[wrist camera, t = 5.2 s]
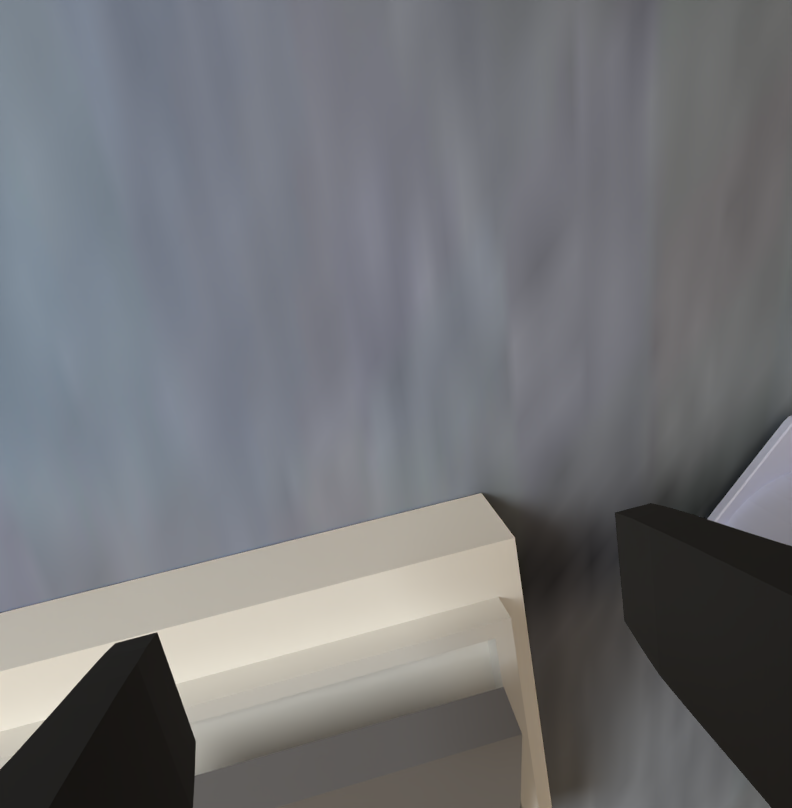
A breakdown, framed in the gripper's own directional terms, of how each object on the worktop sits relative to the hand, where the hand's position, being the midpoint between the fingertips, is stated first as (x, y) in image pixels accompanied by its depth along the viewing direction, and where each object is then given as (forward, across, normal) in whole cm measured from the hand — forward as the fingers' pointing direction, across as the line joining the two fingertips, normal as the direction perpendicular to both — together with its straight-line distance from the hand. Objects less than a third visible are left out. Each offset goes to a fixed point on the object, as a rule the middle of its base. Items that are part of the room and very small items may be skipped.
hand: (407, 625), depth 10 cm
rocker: (+5, +3, +9) cm, 11 cm away
